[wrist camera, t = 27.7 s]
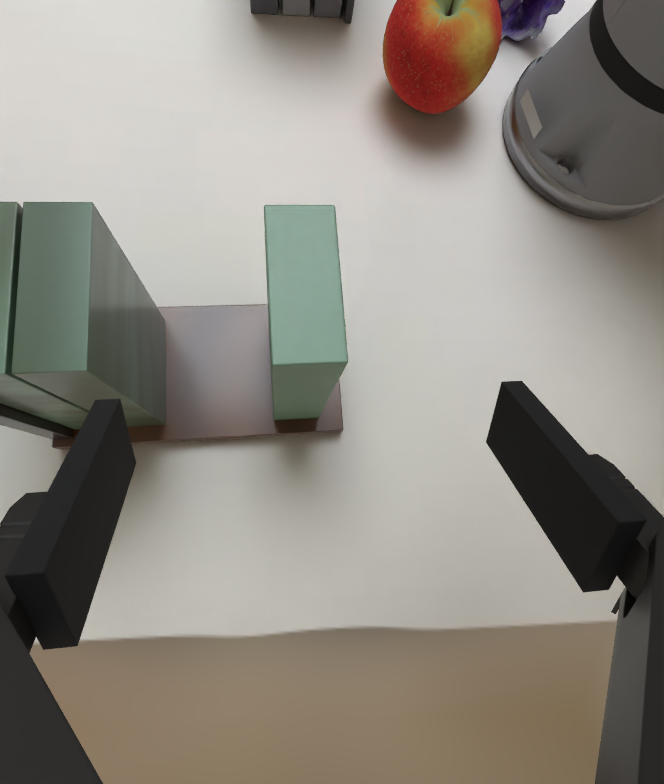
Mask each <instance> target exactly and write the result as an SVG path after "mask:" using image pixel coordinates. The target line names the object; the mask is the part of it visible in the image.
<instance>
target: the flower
mask: <svg viewBox="0 0 664 784" xmlns="http://www.w3.org/2000/svg"><path fill="white" fill-rule="evenodd" d="M498 3H499V7H500V12H501V19H502V36H501V39H503V38H504V36H507V37H510V38H511V39H513V40H515V41H519V40H522V39H524V38H527V37H530V36H531V39H535V38H536V37H537V36H538V35H539V33H540V32H541V31H542V29H543V27H544V25H545V22H546V19H547V17H548V16H549V15H551V14H557V13H558V12H559V11H560V10H561V9H562V7H563V5H564V3H565V1H564V0H498Z"/></svg>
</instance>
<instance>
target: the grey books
mask: <svg viewBox="0 0 664 784" xmlns="http://www.w3.org/2000/svg"><path fill="white" fill-rule="evenodd" d="M250 1H251V13H259V14H278V0H250ZM354 1H355V0H313V8H314V16H319V17H338V18H339V17H340V13H341V6H343V16H344V23H351V20H352V13H353V7H354ZM282 9H283V15H298V16H309V12H310V0H282Z"/></svg>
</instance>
